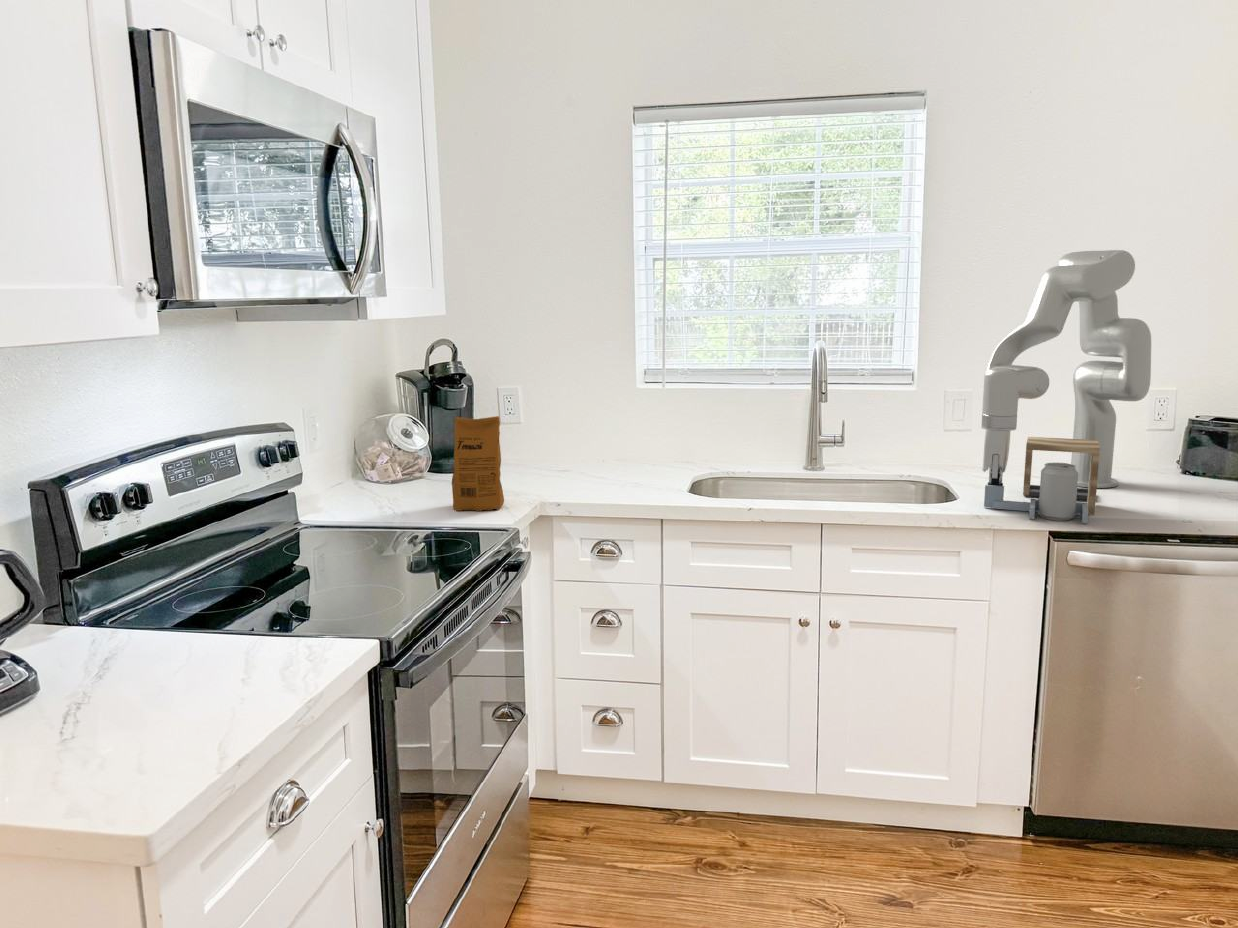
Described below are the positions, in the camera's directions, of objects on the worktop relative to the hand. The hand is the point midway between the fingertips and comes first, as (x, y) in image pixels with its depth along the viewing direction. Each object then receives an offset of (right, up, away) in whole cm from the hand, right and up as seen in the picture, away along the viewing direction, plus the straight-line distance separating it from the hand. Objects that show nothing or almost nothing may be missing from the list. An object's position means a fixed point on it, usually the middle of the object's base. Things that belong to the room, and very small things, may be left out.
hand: (994, 499), depth 219 cm
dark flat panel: (+19, +1, +9) cm, 21 cm away
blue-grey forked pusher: (+5, -3, -10) cm, 11 cm away
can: (+9, -4, -12) cm, 15 cm away
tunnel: (+14, -2, -2) cm, 14 cm away
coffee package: (-122, -2, +6) cm, 122 cm away
